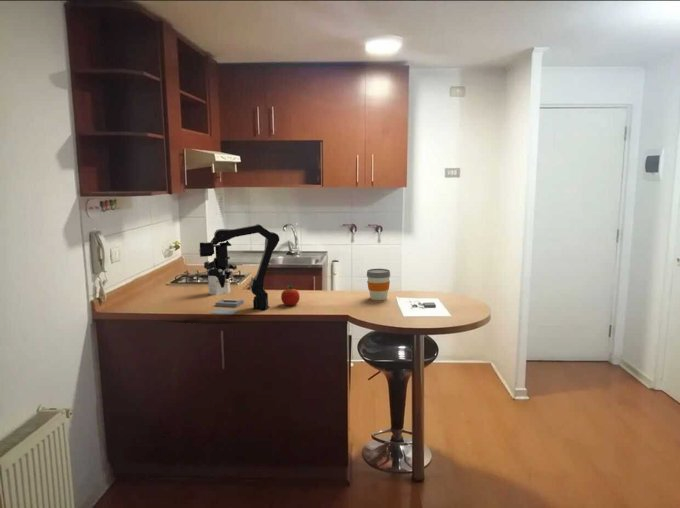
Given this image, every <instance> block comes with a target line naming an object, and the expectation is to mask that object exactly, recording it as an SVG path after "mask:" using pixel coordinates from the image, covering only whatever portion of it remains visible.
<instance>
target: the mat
mask: <svg viewBox="0 0 680 508" xmlns="http://www.w3.org/2000/svg"><path fill="white" fill-rule="evenodd" d="M239 311H240V309H237V308H236V309H233V308H216V309H214V310H213V311H211V312H209V314H215V315H216V314H217V315H218V314H219V315H230V316H231V315H234V314H236V313H238V312H239Z"/></svg>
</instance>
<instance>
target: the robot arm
mask: <svg viewBox="0 0 680 508" xmlns="http://www.w3.org/2000/svg"><path fill="white" fill-rule="evenodd" d="M254 234H259V235H260V236H262V237H264V238H265V239H264V249H263V252H262V256H261V260H260V262H259V266H258V269H257V272H256V274H255V276H254V277H251V278H250V283H249V284H248V285H249V290H250V291H251V293H252V294H253V295H254V296H253V300H252V303H253V304H252V305H253V308H252V309H253V310H257V311H258V310H260V311H266V310H268V309H269V308H271V307H270V306H269V296H268V295H269V293H267V291H266V290H265V289H264V288H265V287H264V286H265V278H266V277H265V276H266V274H267V270H268V268H269V265H270V261H271V258H272V255H273V252H274V250H275V249H276V248H277V246H278V245H279V244H278V243H280V236H279V234H277V233H276V232H273V231H269V230H268V229H266V228H265V227H263V226H262V225H261V224H259V223H257V224H254V225H249V226H242V227H238V228H231V229H230V228H219V229H217V230H215V231H214V234H213V235H214V236H213V238H212V239H211V241H210V242H208V241H207V242H199V257H200V258H202V257H212V256H213V255H214V254H215V257H214V258H213V261H208V260H207V261H205V262H204V263H203V268H204V269H206V271H207V276H216V277H217V278H218V280H219V283H220V285H221V287H222V288H223V287H224V284H225V280H226V279H229V280H230V277H231V275H232V273H233V271H235V270H237V269H238V267H237V264H236V263H231V262H230V263H229V260H230V258H231V257H230V256H229V254H228V252H229V251H228V247H231V246H232V244H231V243H230V242H229V240H231V239H233V238H238V237H243V236H248V235H254ZM213 268H214V269H213ZM209 269H210V270H209ZM208 270H209V271H208ZM230 270H233V271H230Z"/></svg>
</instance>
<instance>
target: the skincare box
mask: <svg viewBox="0 0 680 508" xmlns="http://www.w3.org/2000/svg"><path fill="white" fill-rule="evenodd" d="M213 269H214V268H213ZM209 270H210V269H209ZM209 270H207V272H208V271H209ZM207 276H208V275H207ZM216 279H218V278H217V277H216V276H208V278H207V280H208V292H209V295H216V296H217V295H222V294H224V293H217V283H216Z"/></svg>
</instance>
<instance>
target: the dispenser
mask: <svg viewBox="0 0 680 508" xmlns="http://www.w3.org/2000/svg"><path fill="white" fill-rule="evenodd" d="M244 301H245V300H244V299H230V298H229V299H228V298H226V299H225V298H223V299H221V300H219V301H217V302H215V307H224V308H225V307H228V308H238V307H240V306H241V305H243V304H244Z"/></svg>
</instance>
